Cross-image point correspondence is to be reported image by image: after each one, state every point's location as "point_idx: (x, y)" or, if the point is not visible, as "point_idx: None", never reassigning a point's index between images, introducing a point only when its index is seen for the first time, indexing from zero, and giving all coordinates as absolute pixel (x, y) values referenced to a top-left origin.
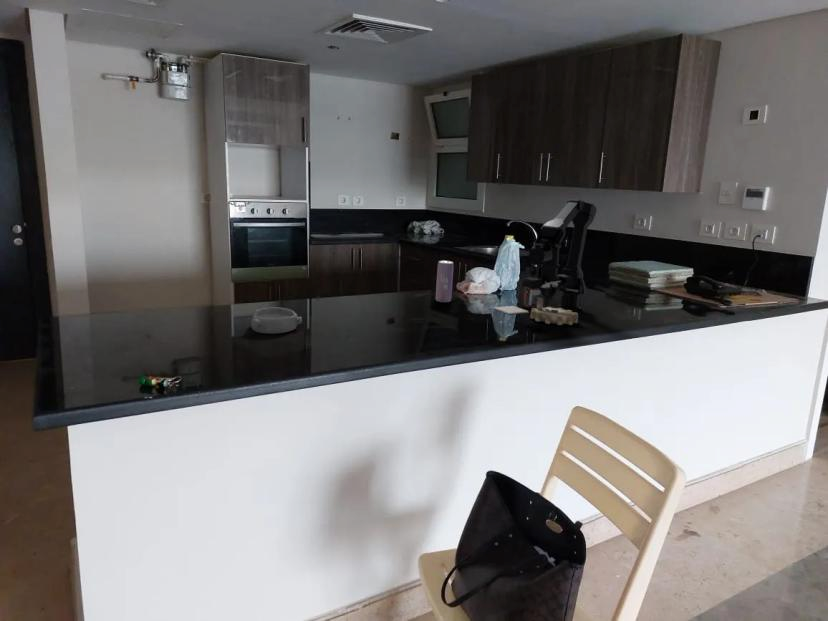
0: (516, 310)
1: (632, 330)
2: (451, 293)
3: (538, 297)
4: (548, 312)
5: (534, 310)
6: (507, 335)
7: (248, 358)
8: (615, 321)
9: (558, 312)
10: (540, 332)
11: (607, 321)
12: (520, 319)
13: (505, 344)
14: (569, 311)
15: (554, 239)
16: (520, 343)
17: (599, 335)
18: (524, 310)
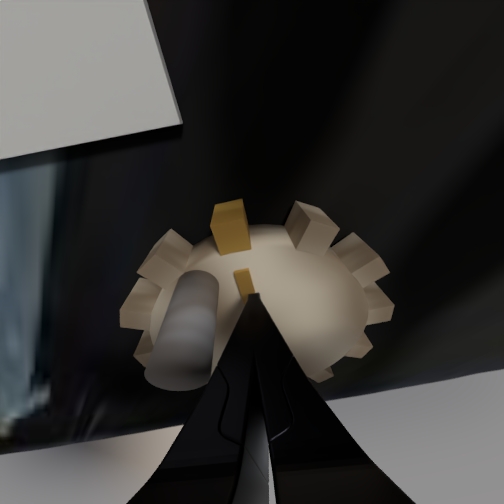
0: (52, 62)
1: (417, 384)
2: None
3: (154, 369)
4: (219, 344)
5: (161, 278)
6: (11, 415)
7: None
8: (495, 323)
9: None
10: (128, 399)
11: (467, 322)
12: (77, 283)
13: (10, 446)
14: (357, 331)
15: None
16: (51, 441)
17: None
18: (148, 74)
